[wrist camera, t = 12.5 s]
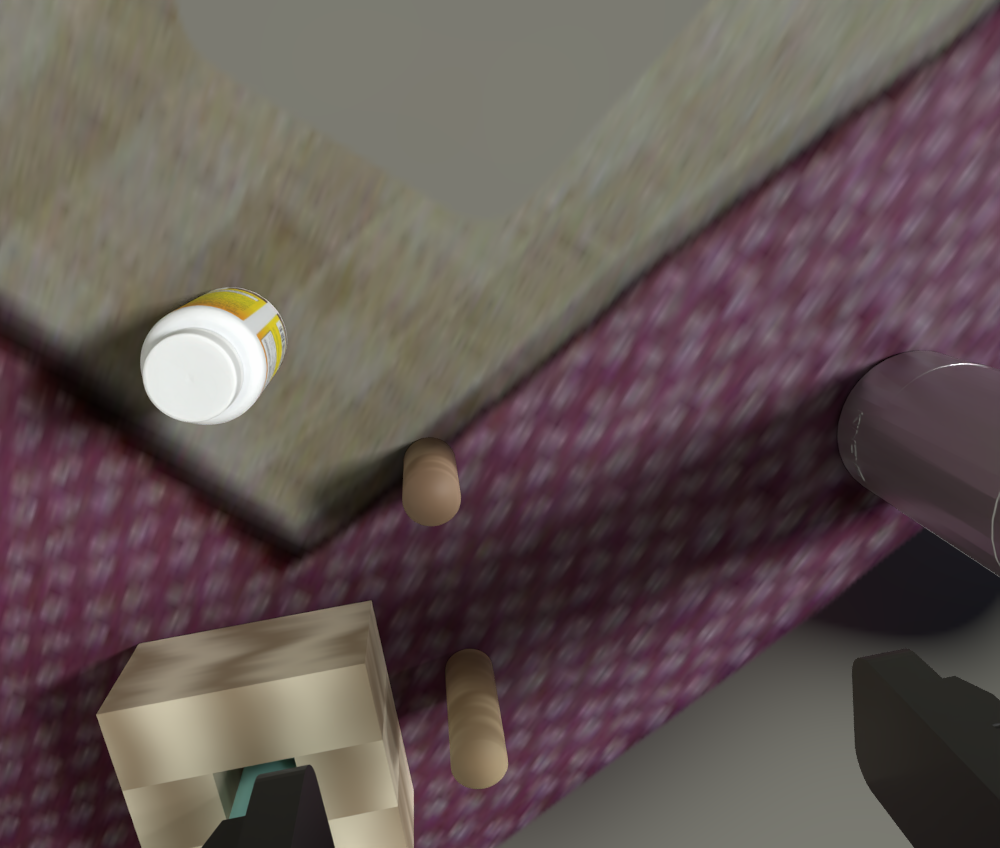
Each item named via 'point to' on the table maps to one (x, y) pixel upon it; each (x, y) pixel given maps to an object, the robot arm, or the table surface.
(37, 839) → the table surface
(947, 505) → the robot arm
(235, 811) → the long pin
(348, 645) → the hole block
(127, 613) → the table surface
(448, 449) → the short pin
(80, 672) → the table surface
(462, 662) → the medium pin
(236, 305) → the supplement bottle
